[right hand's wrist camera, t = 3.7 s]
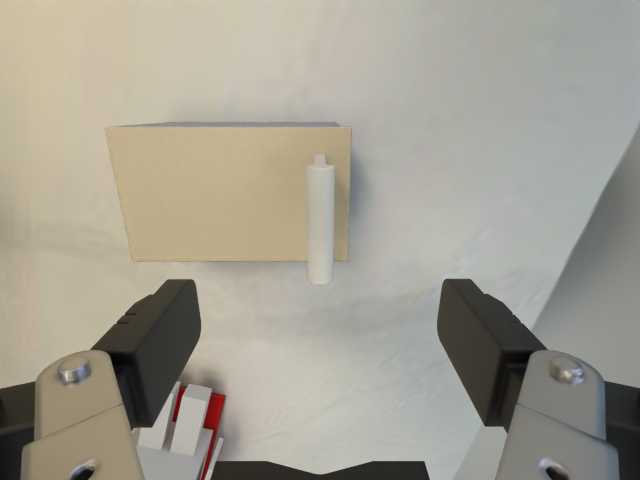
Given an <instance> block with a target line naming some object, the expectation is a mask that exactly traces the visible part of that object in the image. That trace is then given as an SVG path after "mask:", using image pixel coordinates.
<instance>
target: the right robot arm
mask: <svg viewBox="0 0 640 480" xmlns="http://www.w3.org/2000/svg"><path fill="white" fill-rule="evenodd" d="M437 330H438V336H439V339H440V341H441V343H442V345H443V347H444V349H445V351H446V353H447V355H448V357H449V359H450V361H451V362H452V364H453V366H454V368H455V370H456V372H457V374H458V376H459V378H460V380H461V381H462V383H463V385H464V387H465V389H466V391H467V393H468V395H469V397H470V399H471V401H472V402H473V404H474V406H475V408H476V410H477V412H478V414H479V416H480V418H481V420H482V422H483V423H484V425H485V426H503V427H504V429H505V430H506V432H507V434H508V435H507V439H506V442H505V446H504V449H503V453H502V456H501V460H500V464H499V467H498V471H497V474H496V478H495V480H640V388H636V387H631V386H626V385H621V384H616V383H612V382H607V381H604V380H603V378H602V376H601V375H600V373H599V372H598V371H597V370H596V369H594V368H593V367H592V366H591V365H589V364H588V363H586V362H584V361H583V360H581V359H579V358H577V357H574V356H572V355H569V354H566V353H563V352H559V351H553V350H548V349H547V348H546V347H545V346H544V345H543V344H542V343H541V342H540V341H539V340H538V339H537V338H536V337H535V336H534V335H533V334H532V333H531V332H530V331H529V329H528V328H527V327H526V326H525V325H524V324H523V323H521V321H520V320H519V319H518V318H517V317H516V316H515V315H513V314H512V312H511V311H510V310H509V309H508V308H507V306H506V305H505V304H504V303H503V302H501V301H499V300H497V299H496V298H494V297H492V296H491V295H489V294H484V293H483V292H482V291H481V290H480V289H479V288H478V287H477V286H476V284H475V283H474V282H473V281H472V280H471V279H445V280H444V282H443V285H442V291H441V298H440V305H439V312H438V319H437ZM200 333H201V318H200V311H199V304H198V297H197V290H196V285H195V282H194V281H193V280H192V279H168V280H167V281H166V282H165V283H164V284H163V285H162V286H161V287H160V288H159V289H158V290H157V291H156V293H155V294H154V295H148V296H147V297H145V298H143V299H141V300H140V301H138V302H136V303H135V304H134V305H133V306H132V307H131V308H130V309H129V310H128V311H127V312H126V313H125V315H123V316H122V317H121V318H120V319H119V320H118V321H117V324H114V325H113V326H112V328H111V329H110V330H109V331H108V332H107V333H106V334H105V335H104V336H103V337H102V338H101V339H100V340H99V341H98V342H97V343H96V344H95V345H94V346H93V347H92V348H91V349H90V350H87V351H81V352H77V353H74V354H71V355H68V356H66V357H63V358H61V359H59V360H57V361H56V362H54V363H52V364H51V365H49V366H48V367H47V368H46V369H44V370H43V371H42V372H41V373H40V375H39V376H38V378H37V380H36V381H35V382H31V383H26V384H21V385H16V386H12V387H7V388H2V389H0V480H145V478H144V474H143V470H142V467H141V463H140V460H139V456H138V453H137V449H136V446H135V442H134V439H133V435H132V430H133V428H152V427H153V425H154V423H155V422H156V420H157V418H158V416H159V414H160V412H161V410H162V408H163V406H164V405H165V403H166V401H167V399H168V397H169V395H170V393H171V391H172V390H173V388H174V386H175V384H176V382H177V380H178V378H179V376H180V374H181V373H182V371H183V369H184V367H185V365H186V363H187V361H188V359H189V357H190V356H191V354H192V352H193V350H194V348H195V346H196V344H197V342H198V340H199V337H200ZM210 480H430V479H429V476H428V472H427V469H426V465H425V462H424V461H372V462H368V463H365V464H361V465H357V466H353V467H350V468H346V469H342V470H338V471H335V472H331V473H327V474H322V475H318V474H313V473H309V472H305V471H302V470H298V469H294V468H290V467H287V466H283V465H279V464H275V463H272V462H268V461H216V462H215V465H214V469H213V472H212V476H211V479H210Z"/></svg>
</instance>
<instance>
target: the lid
mask: <svg viewBox="0 0 640 480" xmlns="http://www.w3.org/2000/svg"><path fill="white" fill-rule="evenodd" d="M105 132H106V137H107V142H108V147H109V151H110V156H111V161H112V166H113V171H114V175H115V180H116V185H117V190H118V194H119V199H120V204H121V209H122V214H123V218H124V223H125V228H126V233H127V237H128V242H129V247H130V252H131V257H132V261H307V280H308V282H309V283H311V284H313V285H327V284H330V283H331V282H332V281H333V261H347V260H348V234H349V202H350V169H351V137H352V128H351V127H105Z"/></svg>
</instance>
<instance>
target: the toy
mask: <svg viewBox="0 0 640 480" xmlns="http://www.w3.org/2000/svg"><path fill="white" fill-rule="evenodd" d="M180 383H181V382H180V381H177V382H176V384H175V386H174V388H173V390H172V391H171V393H170V395H169V397H168V399H167V401H166V403H165V405H164V406H163V408H162V410H161V412H160V414H159V416H158V418H157V420H156V422H155V423H154V425H153V427H152V428H137V429H136V431H135V432H134V434H133V439H134V442H135V446H136V449H137V453H138V456H139V460H140V463H141V467H142V470H143V474H144V478H145V480H210V478H211V475H212V472H213V469H214V465H215V462H216V461H217V458H218V455H219V452H220V449H221V446H222V443H223V440H224V438H221V437H220V438H219V440H218V443H217V446H216V449H215V451H214V454H213V457H212V460H211V462H210V458H211V454H212V450H213V446H214V441H215V437H216V433H217V429H218V424H219V420H220V416H221V412H222V407H223V403H224V399H225V396H222V395H217V394H212V393H211V392H212V388H207V387H203V386H198V385H194V384H189V385H188V387H187V388H181V387H180ZM209 463H210V465H209ZM208 467H209V468H208Z"/></svg>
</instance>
